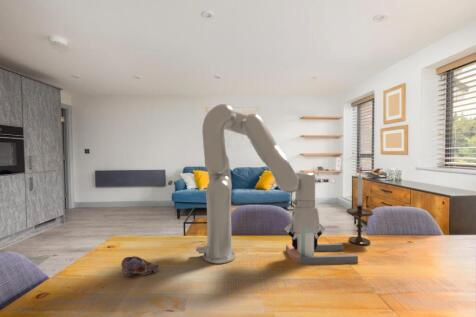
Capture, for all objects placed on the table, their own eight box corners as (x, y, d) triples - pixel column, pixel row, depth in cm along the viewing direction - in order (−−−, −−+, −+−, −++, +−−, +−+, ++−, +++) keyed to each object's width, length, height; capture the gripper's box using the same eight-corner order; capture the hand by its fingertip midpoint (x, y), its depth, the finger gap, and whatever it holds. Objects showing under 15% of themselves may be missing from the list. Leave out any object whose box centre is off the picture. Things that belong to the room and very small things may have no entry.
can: (297, 250, 103) (298, 222, 103) (315, 254, 100) (315, 224, 100) (293, 257, 97) (293, 227, 97) (312, 261, 94) (312, 229, 93)
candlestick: (367, 238, 119) (368, 165, 118) (376, 247, 108) (377, 167, 107) (343, 237, 120) (344, 165, 119) (349, 245, 110) (350, 166, 109)
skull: (160, 268, 90) (160, 251, 90) (155, 278, 82) (155, 260, 82) (126, 269, 89) (125, 252, 89) (117, 280, 81) (117, 262, 81)
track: (294, 264, 92) (294, 256, 92) (286, 250, 105) (286, 243, 105) (357, 262, 93) (358, 254, 93) (341, 249, 106) (341, 242, 106)
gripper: (285, 205, 94) (285, 252, 94) (330, 205, 95) (330, 251, 95) (281, 201, 101) (280, 244, 102) (322, 201, 102) (322, 244, 103)
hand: (304, 247), depth 98 cm, fingers closed on can, 7 cm apart
